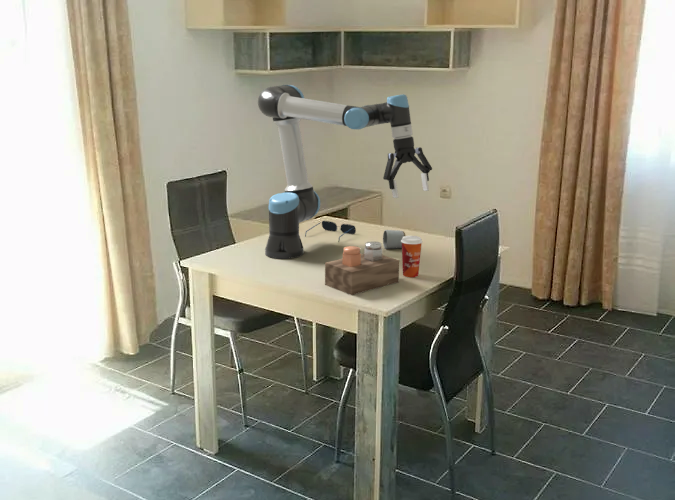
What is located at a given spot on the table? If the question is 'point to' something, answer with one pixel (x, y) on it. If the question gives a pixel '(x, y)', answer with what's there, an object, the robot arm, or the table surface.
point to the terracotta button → (351, 256)
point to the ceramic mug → (393, 239)
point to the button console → (361, 275)
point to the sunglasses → (333, 227)
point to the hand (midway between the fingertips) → (410, 194)
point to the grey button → (373, 251)
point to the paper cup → (411, 255)
